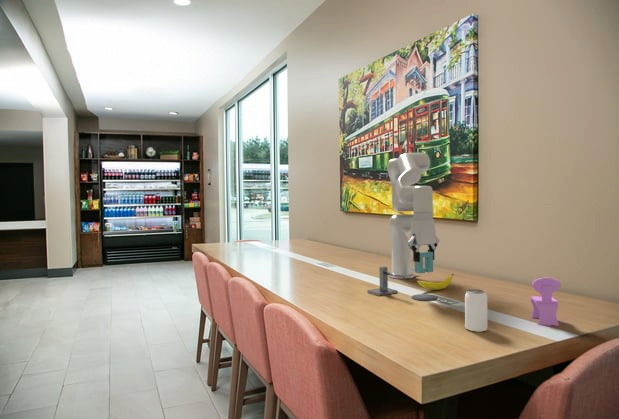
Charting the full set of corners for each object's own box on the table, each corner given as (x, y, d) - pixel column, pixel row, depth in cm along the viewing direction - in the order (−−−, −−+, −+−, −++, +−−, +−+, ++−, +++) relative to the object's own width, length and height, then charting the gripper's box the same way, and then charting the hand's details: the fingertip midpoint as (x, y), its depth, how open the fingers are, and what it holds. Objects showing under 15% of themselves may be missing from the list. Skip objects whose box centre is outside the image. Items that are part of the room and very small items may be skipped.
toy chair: (554, 318, 148) (554, 273, 147) (563, 326, 139) (563, 278, 139) (527, 317, 150) (527, 273, 149) (534, 324, 141) (534, 278, 140)
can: (461, 326, 141) (461, 289, 140) (481, 325, 141) (481, 288, 141) (470, 333, 134) (470, 293, 134) (491, 332, 135) (491, 292, 134)
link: (428, 270, 182) (427, 251, 181) (433, 271, 179) (433, 252, 179) (414, 272, 178) (414, 252, 178) (420, 273, 176) (419, 253, 175)
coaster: (424, 294, 186) (424, 293, 186) (442, 298, 177) (442, 297, 177) (406, 297, 181) (406, 296, 181) (423, 302, 172) (423, 301, 172)
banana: (415, 291, 191) (414, 277, 191) (451, 287, 198) (451, 273, 197) (419, 293, 188) (418, 278, 188) (455, 288, 195) (455, 274, 195)
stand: (385, 289, 196) (385, 264, 196) (413, 297, 180) (413, 270, 180) (367, 292, 191) (366, 266, 191) (394, 300, 176) (393, 272, 175)
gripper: (432, 215, 185) (433, 257, 186) (400, 217, 177) (401, 261, 178) (446, 216, 179) (446, 259, 179) (413, 217, 170) (413, 263, 171)
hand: (423, 260), depth 178 cm, fingers closed on link, 7 cm apart
